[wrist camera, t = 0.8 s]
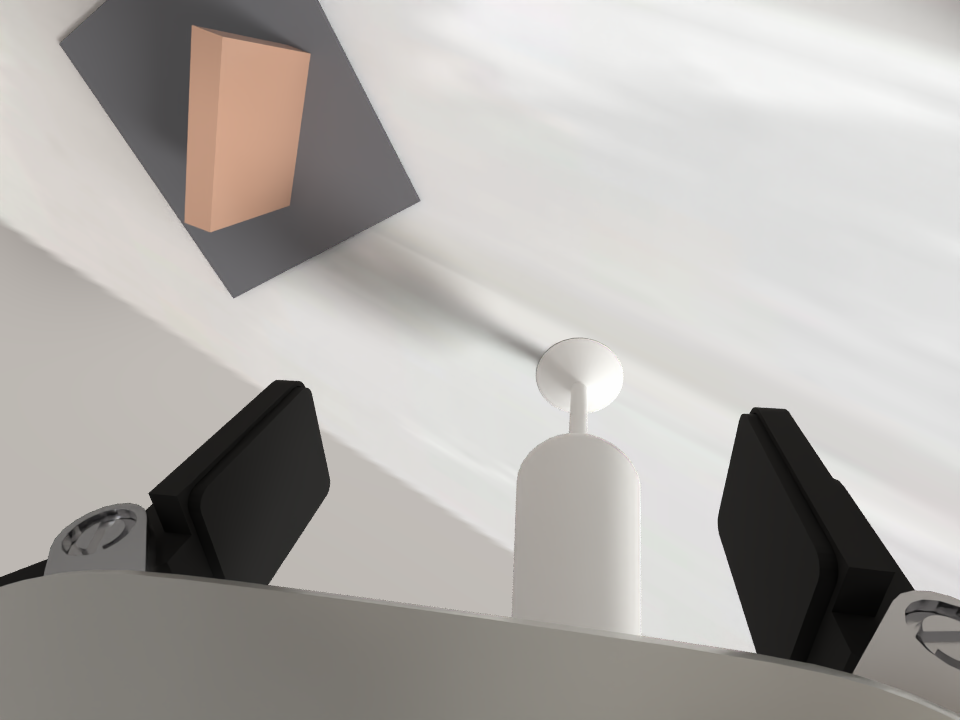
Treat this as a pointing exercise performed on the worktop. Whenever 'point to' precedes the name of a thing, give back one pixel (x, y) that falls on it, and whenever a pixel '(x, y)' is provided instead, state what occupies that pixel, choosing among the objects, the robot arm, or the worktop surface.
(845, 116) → the worktop surface
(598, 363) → the champagne flute
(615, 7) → the worktop surface
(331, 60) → the mat
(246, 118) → the tile
